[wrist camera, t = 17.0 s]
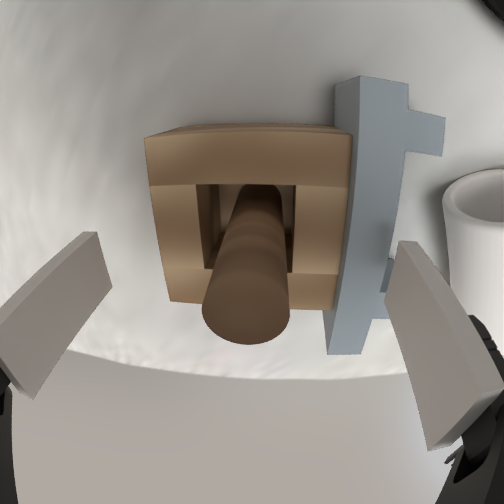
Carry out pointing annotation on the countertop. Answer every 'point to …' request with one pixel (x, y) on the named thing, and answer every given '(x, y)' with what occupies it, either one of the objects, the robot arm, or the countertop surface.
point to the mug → (478, 247)
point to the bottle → (496, 7)
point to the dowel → (250, 271)
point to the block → (226, 192)
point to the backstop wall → (372, 199)
